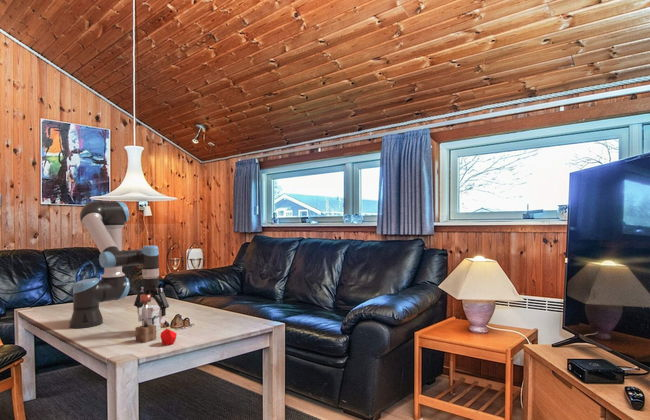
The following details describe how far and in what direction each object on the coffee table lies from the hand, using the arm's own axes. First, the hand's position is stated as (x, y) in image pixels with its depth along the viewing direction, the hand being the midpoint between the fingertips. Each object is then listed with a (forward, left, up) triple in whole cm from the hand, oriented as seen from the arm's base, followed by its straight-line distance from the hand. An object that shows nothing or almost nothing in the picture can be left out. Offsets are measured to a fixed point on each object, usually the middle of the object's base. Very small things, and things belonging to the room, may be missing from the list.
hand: (151, 322), depth 200 cm
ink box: (0, 0, -5) cm, 5 cm away
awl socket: (+10, -12, -4) cm, 16 cm away
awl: (+10, -12, +1) cm, 16 cm away
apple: (+23, -13, -5) cm, 27 cm away
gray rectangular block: (+10, +12, -4) cm, 16 cm away
